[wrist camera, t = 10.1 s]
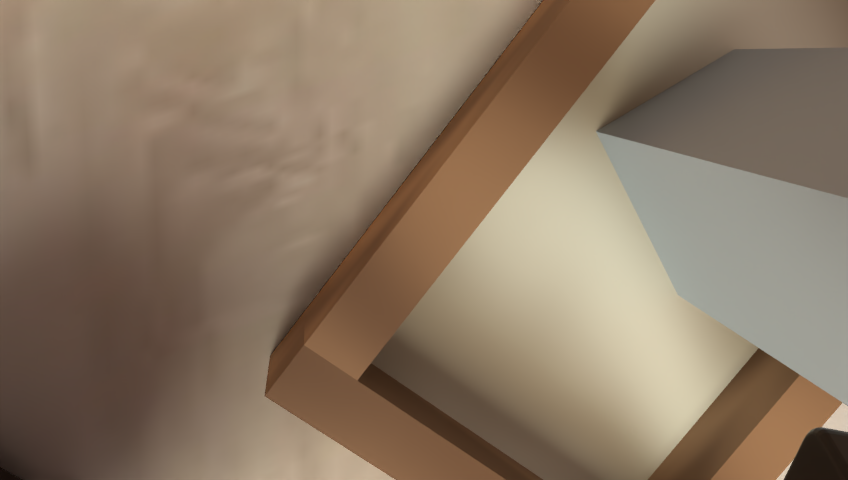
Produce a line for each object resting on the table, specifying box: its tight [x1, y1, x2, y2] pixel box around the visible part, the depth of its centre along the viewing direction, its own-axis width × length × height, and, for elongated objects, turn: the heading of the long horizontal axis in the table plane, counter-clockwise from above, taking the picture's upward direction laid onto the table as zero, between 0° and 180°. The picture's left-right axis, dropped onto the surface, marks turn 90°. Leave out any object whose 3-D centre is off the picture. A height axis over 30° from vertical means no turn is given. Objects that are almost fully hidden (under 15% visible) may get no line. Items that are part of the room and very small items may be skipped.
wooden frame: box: [265, 0, 848, 480], centre depth 20 cm, size 19×12×2 cm, turn 142°
